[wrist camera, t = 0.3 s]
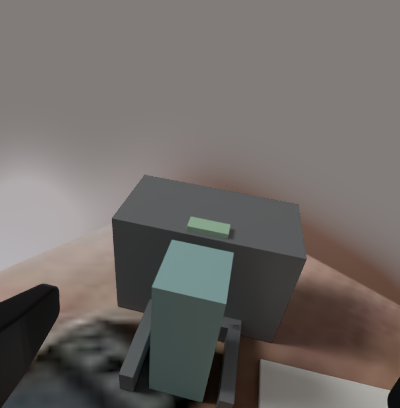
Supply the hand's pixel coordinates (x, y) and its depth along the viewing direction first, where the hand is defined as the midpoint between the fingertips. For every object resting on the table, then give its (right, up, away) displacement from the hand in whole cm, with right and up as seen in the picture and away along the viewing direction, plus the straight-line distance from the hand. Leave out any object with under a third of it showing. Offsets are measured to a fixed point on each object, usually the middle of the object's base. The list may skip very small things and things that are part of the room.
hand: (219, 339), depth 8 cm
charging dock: (-1, -7, +19) cm, 21 cm away
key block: (-2, -9, +16) cm, 18 cm away
